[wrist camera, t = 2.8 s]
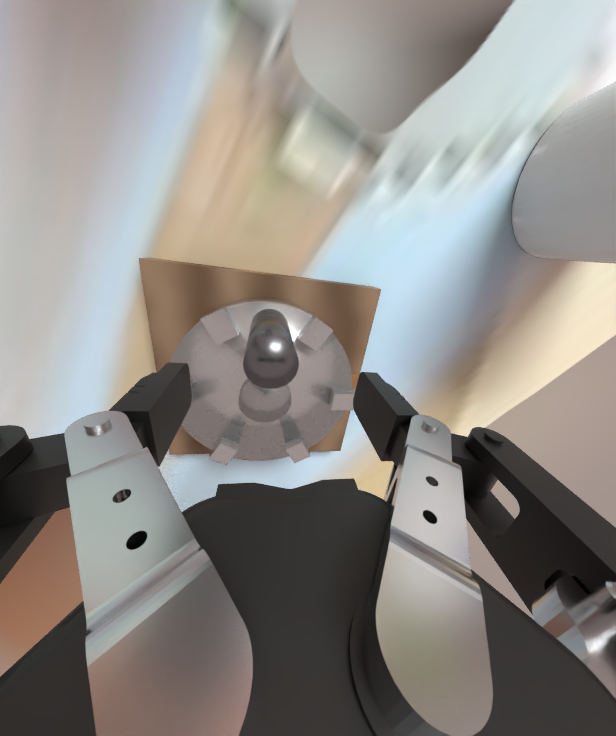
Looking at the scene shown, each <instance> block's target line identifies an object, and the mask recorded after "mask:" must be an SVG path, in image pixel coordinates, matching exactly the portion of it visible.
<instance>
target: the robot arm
mask: <svg viewBox="0 0 616 736" xmlns="http://www.w3.org/2000/svg"><path fill="white" fill-rule="evenodd" d="M191 401H192V391H191V381H190V371H189V366H188V364H187V363H173V362H168V363H166V364H165V365H164V366H163V367H162V369H161V370H160V371H159V372H158V373H152V374H150V375H148V376H146V377H143V378H142V379H140V380H139V381H138V382H137V383H136V384H135V385H134V387H132V388H131V389H130V390H129V391H128V393H126V394H125V395H124V396H123V397H122V398H121V399H120V400H119V401H118V402H117V403H116V404H115V405H114V406H113V407H112V408H111V409H110V410H109V411H103V412H98V413H94V414H90V415H87V416H85V417H82V418H80V419H78V420H77V421H75V422H73V423H72V424H71V425H70V426H68V428H67V429H66V430H65V433H62V434H57V435H51V436H45V437H39V438H34V439H29V438H28V435H27V433H26V431H25V430H24V428H22V427H19V426H12V425H7V426H0V583H1V582H2V581H3V579H4V578H5V577H6V575H7V574H8V573H9V571H10V570H11V569H12V567H13V566H14V565H15V564H16V562H17V561H18V559H19V558H20V557H21V556H22V554H23V553H24V552H25V550H26V549H27V548H28V546H29V545H30V544H31V542H32V541H33V540H34V538H35V537H36V536H37V534H38V533H39V532H40V531H41V529H42V528H43V527H44V525H45V524H46V523H47V521H48V520H49V519H50V517H51V516H52V515H53V514H54V512H55V511H58V510H62V509H65V508H68V507H70V510H71V516H72V524H73V530H74V538H75V544H76V552H77V558H78V565H79V572H80V580H81V587H82V593H83V602H81V604H79V605H78V606H77V607H76V608H75V609H74V610H73V611H72V612H70V613H69V614H68V615H67V616H66V617H65V618H64V619H63V620H62V621H61V622H60V623H59V624H57V626H55V627H54V628H53V629H52V630H51V631H50V632H49V633H48V634H47V635H45V636H44V637H43V638H42V639H41V640H40V641H39V642H38V643H37V644H36V645H35V646H33V647H32V648H31V649H30V650H29V651H28V652H27V653H26V654H25V655H24V656H23V657H22V658H20V659H19V660H18V661H17V662H16V663H15V664H14V665H13V666H12V667H11V668H9V669H8V670H7V671H6V672H5V673H4V674H3V675H2V676H1V677H0V736H616V528H615V527H614V526H613V525H611V524H610V523H609V522H608V521H607V520H605V519H604V518H603V517H602V516H601V515H599V514H598V513H597V512H596V511H595V510H593V509H592V508H591V507H590V506H589V505H587V504H586V503H585V502H584V501H582V500H581V499H580V498H579V497H578V496H576V495H575V494H574V493H573V492H572V491H570V490H569V489H568V488H567V487H565V486H564V485H563V484H562V483H560V482H559V481H558V480H557V479H556V478H555V477H553V476H552V475H551V474H550V473H548V472H547V471H546V470H545V469H544V468H543V467H541V466H540V465H539V464H538V463H536V462H535V461H534V460H533V459H531V458H530V457H529V456H528V455H527V454H526V453H524V452H523V451H522V450H521V449H520V448H518V447H517V446H516V445H515V444H513V443H512V442H511V441H510V440H508V439H507V438H506V437H504V436H503V435H501V434H499V433H497V432H495V431H492V430H489V429H486V428H481V427H476V428H473V429H472V430H471V432H470V434H469V436H468V437H465V436H461V435H456V434H451V432H450V430H449V428H448V427H447V426H446V425H445V424H443V423H442V422H440V421H439V420H437V419H435V418H432V417H429V416H426V415H419V414H418V412H417V411H416V410H415V409H414V408H413V407H412V406H411V405H410V404H409V403H408V402H407V401H405V398H404V397H403V396H402V395H400V393H399V392H398V391H397V390H396V389H395V388H394V387H392V386H391V385H389V384H388V383H386V382H385V381H384V380H383V379H382V378H381V377H380V376H379V375H378V374H377V373H371V372H361V373H360V375H359V378H358V382H357V386H356V390H355V394H354V398H353V408H354V411H355V413H356V415H357V417H358V419H359V421H360V422H361V424H362V426H363V428H364V430H365V432H366V434H367V436H368V437H369V439H370V441H371V443H372V445H373V447H374V449H375V450H376V452H377V454H378V456H379V458H380V460H381V461H393V462H394V465H393V468H392V471H391V474H390V478H389V482H388V485H387V489H386V493H385V496H384V500H383V499H381V498H379V497H377V496H375V495H373V494H371V493H368V492H365V491H361V490H358V488H357V485H356V483H355V480H354V479H333V480H321V481H318V482H315V483H311V484H308V485H304V486H301V487H298V488H294V489H285V488H279V487H274V486H269V485H264V484H258V483H237V484H218V488H217V492H216V496H215V497H212V498H209V499H206V500H204V501H201V502H199V503H197V504H195V505H193V506H191V507H189V508H188V509H186V510H185V511H183V512H181V511H180V509H179V507H178V505H177V503H176V501H175V499H174V497H173V495H172V493H171V491H170V489H169V488H168V486H167V484H166V482H165V480H164V478H163V476H162V474H161V472H160V470H159V468H158V466H160V465H161V463H162V461H163V459H164V457H165V455H166V453H167V451H168V449H169V447H170V445H171V443H172V441H173V439H174V437H175V435H176V433H177V432H178V430H179V428H180V426H181V424H182V422H183V420H184V418H185V416H186V414H187V412H188V410H189V408H190V406H191ZM497 480H499V481H500V482H501V483H502V484H503V485H504V486H505V487H506V488H507V489H508V490H509V491H510V492H511V493H512V494H513V495H514V497H515V498H516V499H517V501H518V503H519V507H520V512H519V515H518V516H517V517H516V519H514V518H513V517H512V516H511V514H510V513H509V512H508V511H507V510H506V509H505V508H504V507H503V505H502V504H501V503H500V502H499V501H498V499H497V498H496V497H495V496H494V495H493V494H492V493H491V489H492V488H493V486H494V485H495V483H496V481H497ZM466 519H467V520H468V522H469V523H470V524H471V526H472V528H473V529H474V531H475V532H476V533H477V535H478V536H479V538H480V539H481V541H482V542H483V544H484V545H485V546H486V548H487V549H488V551H489V552H490V554H491V555H492V557H493V558H494V560H495V561H496V563H497V564H498V565H499V567H500V568H501V570H502V571H503V573H504V574H505V576H506V577H507V579H508V580H509V582H510V583H511V584H512V586H513V587H514V589H515V590H516V592H517V593H518V595H519V596H520V597H521V599H522V600H523V602H524V603H525V605H526V606H527V608H528V609H529V611H530V612H531V614H532V615H533V617H534V620H535V621H534V620H533V619H532V618H531V617H529V616H528V615H527V614H526V613H524V612H523V611H522V610H521V609H519V608H518V607H517V606H516V605H514V604H513V603H512V602H511V601H510V600H508V599H507V598H506V597H505V596H503V595H502V594H501V593H499V592H498V591H497V590H496V589H495V588H493V587H492V586H491V585H489V583H487V582H486V581H485V580H484V579H482V578H481V577H480V576H479V575H477V574H476V573H475V572H474V571H472V570H471V567H470V557H469V547H468V535H467V524H466Z"/></svg>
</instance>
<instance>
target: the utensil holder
mask: <svg viewBox="0 0 616 736" xmlns="http://www.w3.org/2000/svg"><path fill="white" fill-rule="evenodd" d="M512 225H513V231H514V234H515V237H516V240H517V242H518V244H519V245H520V246H521V248H522V249H523V250H524V251H526V252H527V253H529V254H530V255H533V256H535V257H540V258H548V259H560V260H572V261H584V262H600V263H616V82H614V83H613V84H611V85H609V86H607V87H605V88H603V89H601V90H599V91H597V92H595V93H593V94H591V95H589V96H588V97H586V98H584V99H582V100H581V101H579V102H578V103H576V104H574V105H573V106H572V107H570V108H569V109H568V110H567V111H565V112H564V113H563V114H562V115H561V116H560V117H559V118H558V119H557V120H556V121H555V122H554V123H553V124H552V125H551V126H550V127H549V129H548V130H547V131H546V132H545V134H544V135H543V136H542V138H541V139H540V140H539V142H538V143H537V145H536V147H535V148H534V150H533V151H532V153H531V155H530V157H529V158H528V160H527V162H526V164H525V166H524V169H523V171H522V173H521V176H520V178H519V181H518V185H517V188H516V191H515V195H514V200H513V206H512Z"/></svg>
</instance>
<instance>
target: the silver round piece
mask: <svg viewBox="0 0 616 736" xmlns="http://www.w3.org/2000/svg"><path fill="white" fill-rule="evenodd" d="M332 332H333V329H332V328H331V327H330V326H328V325H327V324H326V323H324V322H323V321H322V320H320V319H319V318H318V317H317V316H315V315H314V314H312V313H311V312H309V311H308V310H306V309H304V308H302V307H300V306H298V305H296V304H293V303H290V302H287V301H283V300H278V299H272V298H250V299H243V300H238V301H234V302H231V303H228V304H226V305H223V306H221V307H219V308H217V309H215V310H213V311H212V312H210V313H208V314H206V315H204V316H202V317H201V318H200V321H199V322H198V323H197V324H196V325H195V326H194V327H193V328H192V329H191V330H190V331H189V332H188V333H187V334H186V335H185V336H184V337H183V338H182V340H181V341H180V343H179V344H178V346H177V347H176V349H175V351H174V353H173V355H172V357H171V359H170V362H173V363H187V364H188V366H189V371H190V381H191V391H192V401H191V406H190V408H189V410H188V412H187V414H186V416H185V418H184V420H183V422H182V424H181V426H182V427H183V428H184V429H185V431H187V432H188V433H189V434H190V435H191V436H192V437H193V438H194V439H195V440H197V441H198V442H199V443H201V444H202V445H204V446H206V447H207V448H209V449H211V450H212V451H211V453H210V457H209V459H211V460H213V461H216V462H219V463H222V464H224V465H227V464H228V462H229V461H230V460H231V459H232V457H233V458H238V459H244V460H260V461H262V460H273V459H279V458H284V457H287V456H290V457H291V459H292V460H293V462H294V463H296V462H298V461H300V460H303V459H305V458H308V457H310V452H309V449H308V448H310V447H311V446H313V445H315V444H316V443H318V442H319V441H320V440H322V439H323V438H324V437H325V436H326V435H328V434H329V433H330V432H331V431H332V430H333V428H334V427H335V426H336V425H337V424H338V422H339V421H340V419H341V417H342V416H343V414H344V412H345V410H353V398H354V394H355V390H354V389H352V374H351V367H350V364H349V360H348V357H347V355H346V353H345V350H344V348H343V347H342V345H341V344H340V342H339V341H338V339H337V338H336V337H335V335H334V334H333V333H332Z"/></svg>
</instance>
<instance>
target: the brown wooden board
mask: <svg viewBox="0 0 616 736" xmlns="http://www.w3.org/2000/svg"><path fill="white" fill-rule="evenodd" d="M139 263H140V270H141V276H142V282H143V288H144V295H145V301H146V307H147V314H148V320H149V326H150V332H151V339H152V345H153V351H154V358H155V364H156V370H157V373H158V372H159V371H160V370H161V369H162V367H163V366H164V365H165V364H166V363H168V362H170V359H171V357H172V355H173V353H174V351H175V349H176V347H177V346H178V344H179V343H180V341H181V340H182V338H183V337H184V336H185V335H186V334H187V333H188V332H189V331H190V330H191V329H192V328H193V327H194V326H195V325H196V324H197V323H198V322H199V321H200V318H201V317H202V316H204V315H206V314H208V313H210V312H212V311H213V310H215V309H217V308H219V307H221V306H223V305H226V304H228V303H231V302H234V301H238V300H243V299H250V298H272V299H278V300H283V301H287V302H290V303H293V304H296V305H298V306H300V307H302V308H304V309H306V310H308V311H309V312H311V313H312V314H314V315H315V316H317V317H318V318H319V319H320V320H322V321H323V322H324V323H326V324H327V325H328V326H330V327H331V328H332V329H333V332H332V333H333V334H334V335H335V337H336V338H337V339H338V341H339V342H340V344H341V345H342V347H343V348H344V350H345V353H346V355H347V357H348V360H349V364H350V367H351V374H352V389H354V390H356V386H357V382H358V378H359V375H360V371H361V367H362V363H363V359H364V355H365V351H366V347H367V343H368V339H369V335H370V331H371V327H372V323H373V319H374V315H375V311H376V307H377V304H378V300H379V296H380V292H381V289H379V288H376V287H371V286H364V285H356V284H348V283H340V282H333V281H325V280H317V279H309V278H302V277H294V276H286V275H278V274H271V273H263V272H255V271H247V270H240V269H232V268H224V267H216V266H209V265H201V264H193V263H185V262H178V261H170V260H162V259H154V258H139ZM349 414H350V410H345V412H344V414H343V416H342V417H341V419H340V421H339V422H338V424H337V425H336V426H335V427H334V428H333V430H332V431H331V432H330V433H329V434H328V435H326V436H325V437H324V438H323V439H322V440H320V441H319V442H318V443H316V444H315V445H313V446H311V447H310V448H308V449H309V451H340V450H341V446H342V442H343V438H344V434H345V430H346V426H347V422H348V418H349ZM211 451H212V450H211V449H209V448H207V447H206V446H204V445H202V444H201V443H199V442H198V441H197V440H195V439H194V438H193V437H192V436H191V435H190V434H189V433H188V432H187V431H185V429H184V428H183V427H182V426H180V428H179V430H178V432H177V433H176V435H175V437H174V439H173V441H172V443H171V445H170V447H169V452H170V454H210V453H211Z"/></svg>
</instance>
